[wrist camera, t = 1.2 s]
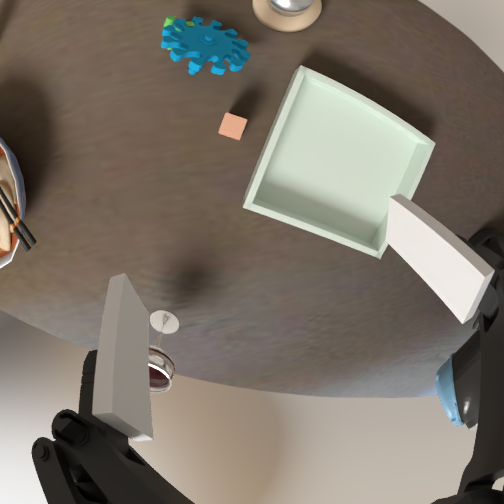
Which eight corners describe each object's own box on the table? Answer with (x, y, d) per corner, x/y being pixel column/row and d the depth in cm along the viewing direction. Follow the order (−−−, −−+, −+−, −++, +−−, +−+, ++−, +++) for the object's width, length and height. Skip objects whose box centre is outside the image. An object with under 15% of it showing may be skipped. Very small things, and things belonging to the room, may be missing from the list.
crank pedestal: (325, -3, 23) (329, -8, 21) (305, 42, 26) (308, 38, 25) (265, -24, 22) (267, -31, 20) (242, 20, 25) (242, 14, 23)
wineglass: (139, 306, 42) (115, 361, 32) (178, 304, 42) (162, 362, 31) (151, 337, 45) (134, 392, 35) (188, 336, 45) (178, 393, 34)
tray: (421, 139, 32) (435, 143, 29) (370, 247, 39) (380, 258, 36) (295, 70, 28) (300, 65, 25) (242, 199, 35) (242, 207, 32)
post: (246, 119, 31) (247, 119, 27) (239, 138, 32) (239, 140, 28) (227, 113, 31) (225, 112, 27) (220, 131, 31) (218, 133, 28)
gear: (269, 51, 26) (212, 77, 21) (246, 82, 31) (192, 115, 26) (203, 3, 24) (137, 21, 19) (187, 36, 29) (128, 60, 24)
